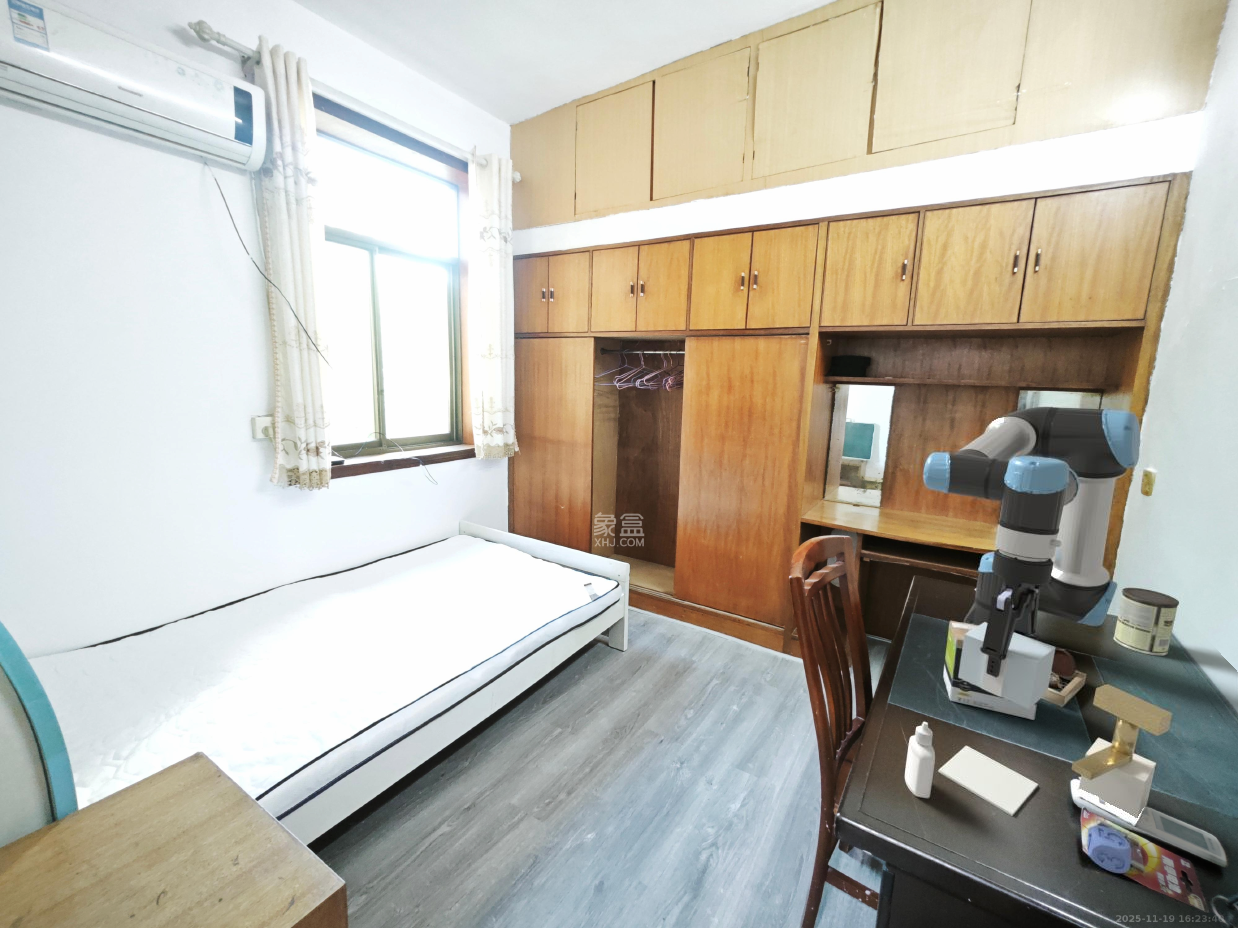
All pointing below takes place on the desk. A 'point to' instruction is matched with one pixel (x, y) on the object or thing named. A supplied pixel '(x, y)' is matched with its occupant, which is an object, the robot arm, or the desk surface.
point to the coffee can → (1145, 621)
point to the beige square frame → (1066, 689)
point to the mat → (989, 779)
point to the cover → (1011, 666)
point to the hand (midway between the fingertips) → (1002, 682)
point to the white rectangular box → (1122, 782)
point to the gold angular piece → (1122, 730)
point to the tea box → (968, 691)
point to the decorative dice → (1109, 849)
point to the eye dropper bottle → (920, 762)
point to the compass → (1061, 667)
